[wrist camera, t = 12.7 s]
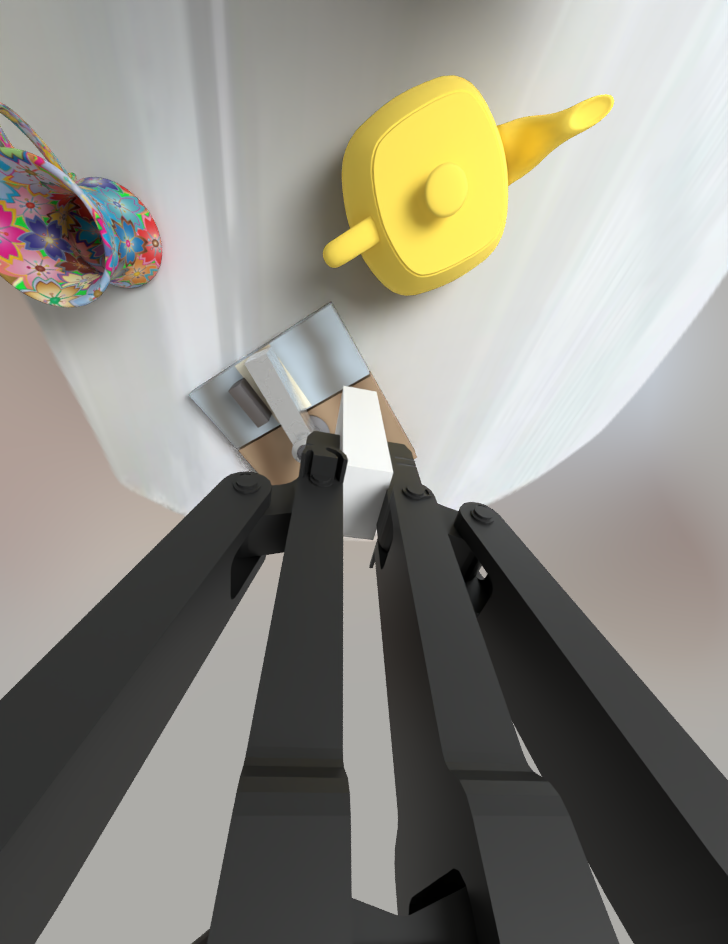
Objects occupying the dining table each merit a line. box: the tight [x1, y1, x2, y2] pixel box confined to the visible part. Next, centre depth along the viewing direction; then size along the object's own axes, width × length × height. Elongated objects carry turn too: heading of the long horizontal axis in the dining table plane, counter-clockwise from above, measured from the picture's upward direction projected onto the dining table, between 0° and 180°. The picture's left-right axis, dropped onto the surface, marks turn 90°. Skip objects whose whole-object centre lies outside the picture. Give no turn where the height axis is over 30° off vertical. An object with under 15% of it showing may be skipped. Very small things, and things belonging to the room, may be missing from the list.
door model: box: [189, 302, 417, 485], centre depth 43 cm, size 19×21×4 cm
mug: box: [0, 103, 162, 307], centre depth 29 cm, size 12×9×11 cm
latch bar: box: [244, 346, 321, 463], centre depth 39 cm, size 13×3×4 cm, turn 22°
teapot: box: [323, 76, 614, 296], centre depth 28 cm, size 13×20×12 cm
